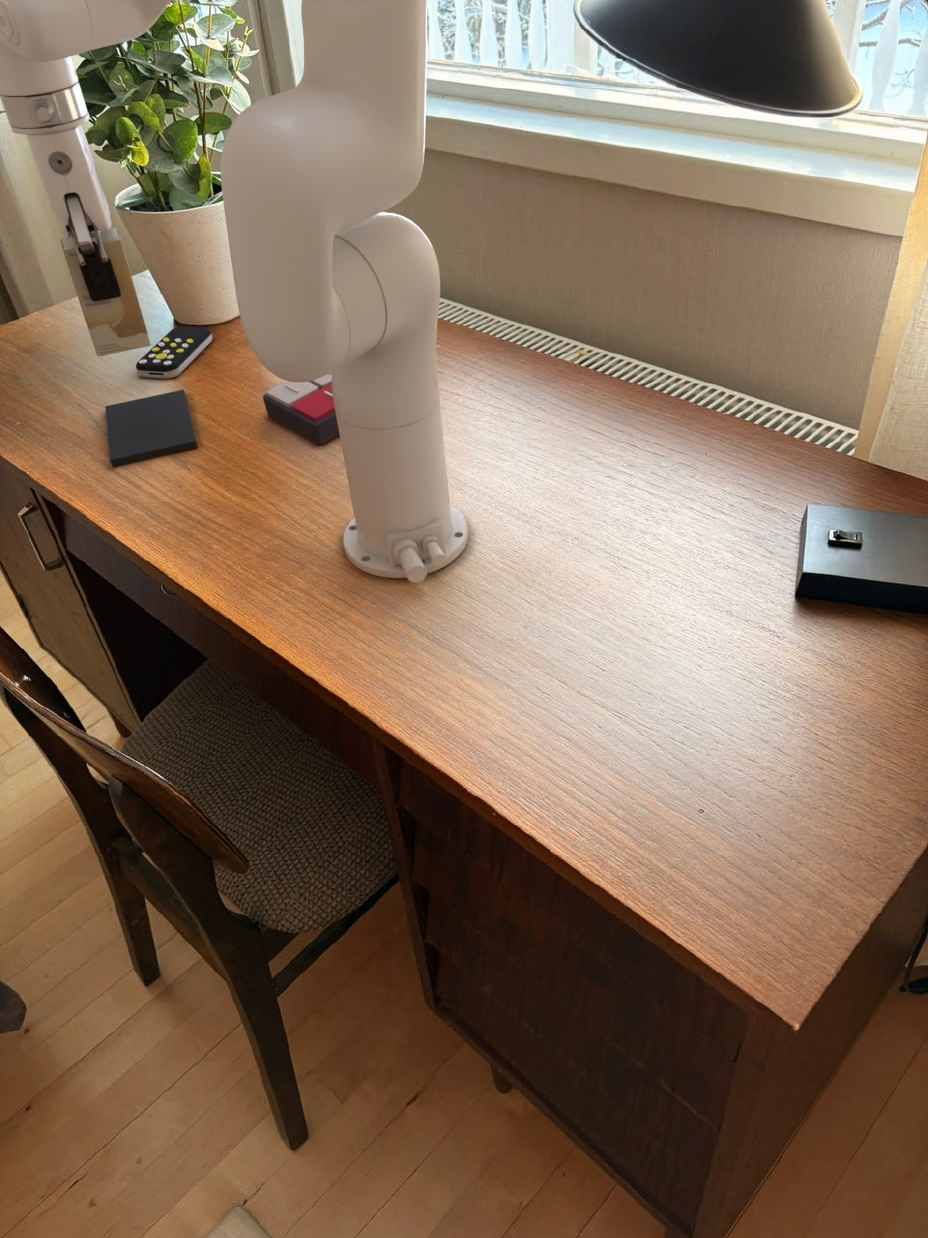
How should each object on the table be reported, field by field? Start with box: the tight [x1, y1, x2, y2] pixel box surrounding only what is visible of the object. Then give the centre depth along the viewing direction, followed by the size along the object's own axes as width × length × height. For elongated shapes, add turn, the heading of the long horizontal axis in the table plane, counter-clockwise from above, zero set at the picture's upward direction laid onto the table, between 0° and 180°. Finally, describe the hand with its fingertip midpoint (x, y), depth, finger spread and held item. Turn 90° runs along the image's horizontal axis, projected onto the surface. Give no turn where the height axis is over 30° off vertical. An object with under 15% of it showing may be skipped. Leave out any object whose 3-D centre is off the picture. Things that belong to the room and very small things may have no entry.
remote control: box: [135, 325, 213, 380], centre depth 130 cm, size 6×13×2 cm, turn 166°
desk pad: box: [104, 389, 199, 468], centre depth 116 cm, size 14×10×1 cm
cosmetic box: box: [60, 227, 152, 357], centre depth 105 cm, size 6×4×12 cm
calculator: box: [262, 372, 340, 446], centre depth 116 cm, size 11×4×15 cm
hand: (105, 287), depth 104 cm, fingers closed on cosmetic box, 4 cm apart
